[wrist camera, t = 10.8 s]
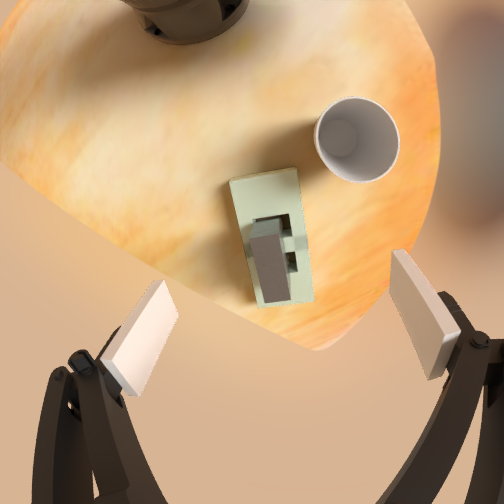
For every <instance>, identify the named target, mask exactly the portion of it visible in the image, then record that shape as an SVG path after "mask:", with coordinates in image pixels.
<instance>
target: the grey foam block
mask: <svg viewBox="0 0 504 504" xmlns="http://www.w3.org/2000/svg"><path fill="white" fill-rule="evenodd" d="M249 241H250V245H251V249H252V253H253V257H254V261H255V266H256V270H257V274H258V278H259V282H260V286H261V290H262V295H263V299H264V303H273V302H280V301H288V300H291V281H290V273H289V255H288V252H286V251H285V245H284V240H283V223H282V218H281V215H275V216H269V217H264V218H258V222H255V223H254V225H253V228H252V231H251V234H250V237H249Z"/></svg>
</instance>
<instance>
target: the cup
mask: <svg viewBox="0 0 504 504" xmlns="http://www.w3.org/2000/svg"><path fill="white" fill-rule="evenodd" d="M314 145H315V148H316V151H317V153H318V155H319V157H320V158H321V159H322V161H323V162H324V163H325V165H326V166H327V167H328V168H329V169H330V170H331V171H332V172H333V173H334V174H335V175H337V176H338V177H340V178H342V179H344V180H346V181H349V182H353V183H369V182H373V181H376V180H378V179H380V178H382V177H383V176H385V175H386V174H387V173H388V172H389V171H390V170H391V169H392V167H393V166H394V164H395V162H396V160H397V158H398V154H399V150H400V137H399V132H398V128H397V126H396V123H395V121H394V120H393V118H392V117H391V115H390V114H389V113H388V111H387V110H386V109H385V108H383V107H382V106H381V105H380V104H378V103H376V102H375V101H373V100H370V99H368V98H364V97H358V96H351V97H345V98H342V99H339V100H337V101H335V102H333V103H332V104H331V105H329V106H328V107H327V108H326V109H325V111H324V112H323V113H322V114H321V116H320V117H319V118H318V120H317V122H316V125H315V128H314Z"/></svg>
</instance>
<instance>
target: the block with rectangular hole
mask: <svg viewBox="0 0 504 504" xmlns="http://www.w3.org/2000/svg"><path fill="white" fill-rule="evenodd" d="M229 185H230V189H231V193H232V198H233V202H234V206H235V211H236V215H237V219H238V224H239V228H240V232H241V237H242V241H243V245H244V250H245V254H246V258H247V262H248V267H249V271H250V275H251V279H252V284H253V288H254V292H255V296H256V301H257V305H258V308H264V307H273V306H282V305H291V304H299V303H307V302H314V291H313V282H312V273H311V264H310V256H309V248H308V240H307V233H306V226H305V219H304V212H303V205H302V199H301V192H300V186H299V180H298V174H297V169H296V167H292V168H286V169H279V170H273V171H267V172H262V173H256V174H251V175H245V176H240V177H235V178H233V179H231V180H230V181H229ZM288 213H289V217H290V223H291V229H284V230H283V240H284V245H285V251H286V252H293V251H295V255H296V262H291V263H289V273H290V281H291V300H288V301H280V302H273V303H264V299H263V295H262V290H261V286H260V282H259V278H258V274H257V270H256V266H255V261H254V257H253V253H252V249H251V245H250V241H249V237H250V234H251V231H252V228H253V225H254V223H255V222H256V218H262V217H268V216H275V215H281V214H288Z"/></svg>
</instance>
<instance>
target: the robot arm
mask: <svg viewBox="0 0 504 504" xmlns="http://www.w3.org/2000/svg"><path fill="white" fill-rule="evenodd" d="M121 1H123V2H125V3H126V4H128V5H130V6H132V7H133V8H134V11H135V13H136V15H137V18H138V20H139V22H140V24H141V26H142V27H143V29H144V30H145V31H146V32H147V33H149V34H150V35H152V36H153V37H155V38H156V39H158V40H160V41H162V42H165V43H169V44H176V45H186V44H194V43H199V42H202V41H205V40H208V39H211V38H213V37H215V36H217V35H219V34H221V33H223V32H224V31H226V30H227V29H229V28H230V27H231V26H233V25H234V24H235V23H236V22H237V21H238V20H239V19H240V17H241V16H242V15H243V13H244V12H245V10H246V8H247V6H248V3H249V0H121ZM389 292H390V295H391V297H392V299H393V301H394V303H395V305H396V307H397V309H398V311H399V314H400V316H401V318H402V320H403V322H404V324H405V327H406V329H407V331H408V333H409V336H410V338H411V340H412V343H413V345H414V347H415V350H416V352H417V355H418V357H419V359H420V362H421V365H422V367H423V370H424V372H425V375H426V378H427V380H431V379H435V378H438V377H441V376H442V375H443V373H444V371H445V369H446V368H447V370H448V372H449V376H448V378H447V380H446V382H445V384H444V386H443V390H442V393H441V395H440V397H439V400H438V402H437V404H436V406H435V408H434V411H433V413H432V415H431V417H430V419H429V421H428V423H427V425H426V427H425V429H424V431H423V433H422V434H421V436H420V438H419V440H418V442H417V443H416V445H415V447H414V449H413V450H412V452H411V454H410V455H409V457H408V459H407V460H406V462H405V463H404V465H403V466H402V468H401V469H400V471H399V472H398V474H397V475H396V477H395V478H394V480H393V481H392V483H391V484H390V485H389V487H388V488H387V489H386V491H385V492H384V493H383V495H382V496H381V497H380V499H379V500H378V501H377V502H376V504H432V502H433V500H434V499H435V497H436V495H437V494H438V492H439V490H440V489H441V487H442V485H443V483H444V482H445V480H446V478H447V476H448V474H449V472H450V470H451V468H452V466H453V464H454V462H455V460H456V458H457V456H458V454H459V452H460V449H461V447H462V445H463V442H464V440H465V438H466V435H467V433H468V430H469V427H470V425H471V422H472V419H473V416H474V413H475V410H476V407H477V404H478V401H479V397H480V394H481V390H482V387H483V386H484V394H483V412H482V423H481V430H480V438H479V445H478V451H477V456H476V461H475V466H474V470H473V474H472V478H471V482H470V486H469V490H468V493H467V496H466V500H465V503H464V504H504V339H490V338H489V336H487V335H486V334H485V333H484V332H481V331H475V329H474V328H473V326H472V325H471V323H470V321H469V320H468V318H467V317H466V315H465V314H464V312H463V311H461V308H460V307H459V305H457V302H456V301H455V300H454V298H453V297H452V296H451V295H449V294H448V293H447V292H445V291H443V292H439V293H436V291H435V290H434V288H433V287H432V285H431V284H430V283H429V282H428V280H427V278H426V277H425V276H424V274H423V273H422V272H421V270H420V269H419V268H418V266H417V265H416V264H415V262H414V261H413V260H412V258H411V257H410V256H409V254H408V253H407V252H406V251H405V249H399V250H392V255H391V274H390V288H389ZM178 316H179V314H178V312H177V310H176V307H175V305H174V303H173V301H172V298H171V296H170V293H169V291H168V289H167V286H166V284H165V281H164V280H157V281H153V282H152V284H151V285H150V286H149V288H148V289H147V290H146V292H145V293H144V295H143V296H142V297H141V299H140V300H139V302H138V303H137V304H136V306H135V307H134V309H133V310H132V312H131V313H130V314H129V316H128V318H127V319H126V320H125V322H124V323H123V325H122V326H120V327H119V328H117V329H116V330H115V331H114V332H113V334H112V335H111V337H110V339H109V340H108V341H107V343H106V345H105V346H104V347H103V349H102V350H101V351H100V353H99V355H98V356H97V358H96V359H95V361H94V359H93V358H92V357H91V355H90V354H89V352H88V351H87V350H78V351H77V352H75V353H73V354H72V355H71V357H70V358H69V360H68V365H69V366H70V367H71V368H72V369H73V371H74V372H72V373H70V372H69V371H68V369H67V368H66V367H64V366H60V367H58V368H56V369H55V370H54V371H53V372H52V373H51V375H50V378H49V382H48V386H47V390H46V394H45V398H44V402H43V407H42V411H41V416H40V421H39V427H38V433H37V439H36V447H35V454H34V464H33V478H32V503H31V504H168V503H167V502H166V500H165V498H164V496H163V495H162V492H161V490H160V488H159V486H158V484H157V482H156V480H155V478H154V476H153V474H152V472H151V470H150V468H149V465H148V463H147V461H146V459H145V456H144V454H143V452H142V449H141V447H140V444H139V442H138V439H137V436H136V434H135V431H134V428H133V426H132V423H131V420H130V417H129V414H128V411H127V408H126V405H125V402H124V399H123V396H122V395H121V394H120V392H121V390H122V388H123V390H124V391H125V392H126V393H127V394H128V395H129V396H135V397H140V396H141V394H142V392H143V389H144V387H145V385H146V383H147V381H148V379H149V377H150V374H151V372H152V370H153V368H154V366H155V364H156V362H157V359H158V357H159V355H160V353H161V351H162V349H163V347H164V345H165V343H166V341H167V338H168V337H169V335H170V332H171V331H172V328H173V326H174V324H175V322H176V320H177V318H178ZM68 402H69V403H70V404H71V409H70V408H69V407H68ZM92 470H93V473H94V477H95V480H96V484H97V487H98V490H99V496H98V497H96V498H95V500H94V494H93V477H92Z"/></svg>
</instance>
